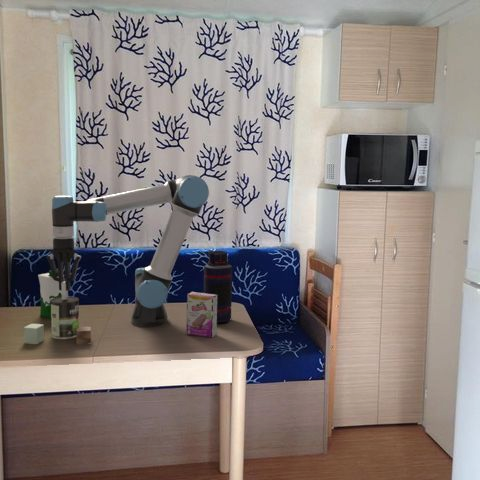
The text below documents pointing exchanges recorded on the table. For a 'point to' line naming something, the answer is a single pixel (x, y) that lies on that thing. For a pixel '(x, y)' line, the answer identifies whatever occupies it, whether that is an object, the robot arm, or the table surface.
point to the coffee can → (64, 317)
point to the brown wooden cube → (83, 335)
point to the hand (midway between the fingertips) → (64, 298)
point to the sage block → (34, 333)
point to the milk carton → (48, 292)
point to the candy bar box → (201, 314)
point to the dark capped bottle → (219, 283)
